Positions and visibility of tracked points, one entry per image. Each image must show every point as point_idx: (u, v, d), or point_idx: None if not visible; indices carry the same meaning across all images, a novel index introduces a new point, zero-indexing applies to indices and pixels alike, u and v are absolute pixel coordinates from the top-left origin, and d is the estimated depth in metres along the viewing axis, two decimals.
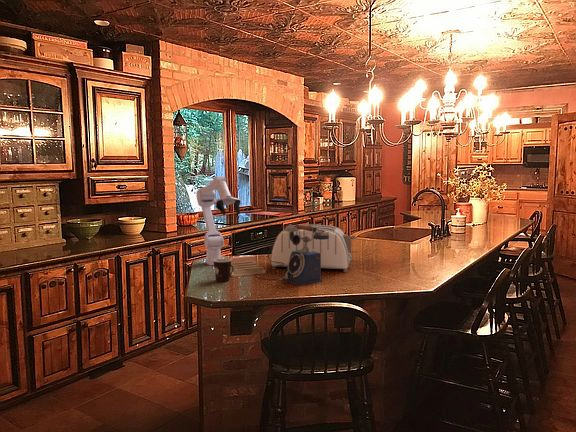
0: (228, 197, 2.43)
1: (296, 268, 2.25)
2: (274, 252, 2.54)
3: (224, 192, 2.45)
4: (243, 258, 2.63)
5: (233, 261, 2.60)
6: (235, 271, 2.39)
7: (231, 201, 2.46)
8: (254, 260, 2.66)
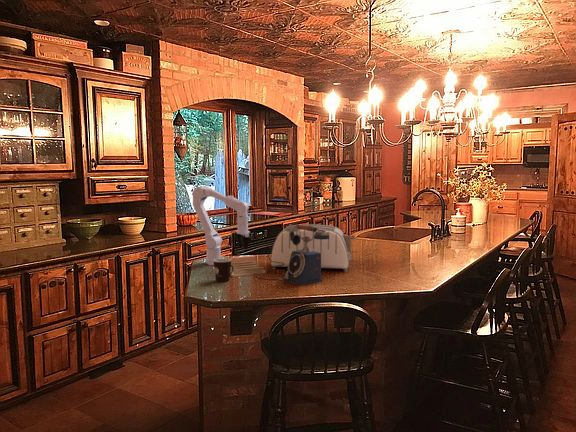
0: (247, 232, 2.63)
1: (296, 268, 2.25)
2: (274, 252, 2.53)
3: (247, 226, 2.62)
4: (243, 258, 2.63)
5: (233, 261, 2.60)
6: (235, 271, 2.39)
7: None
8: (254, 260, 2.66)
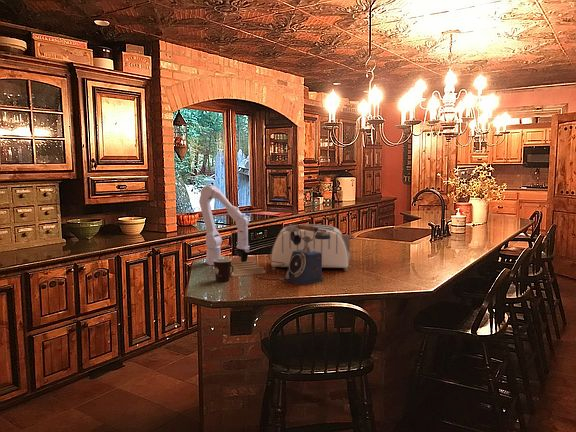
0: None
1: (297, 268, 2.26)
2: (274, 253, 2.52)
3: (247, 240, 2.63)
4: None
5: (233, 261, 2.60)
6: (235, 271, 2.39)
7: None
8: (254, 260, 2.66)
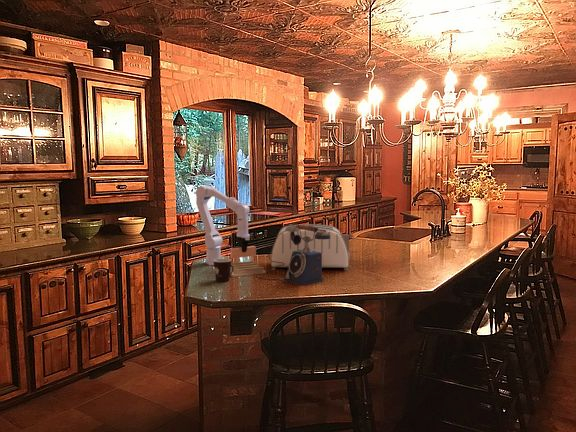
0: None
1: (297, 268, 2.26)
2: (275, 253, 2.51)
3: None
4: None
5: (233, 252, 2.56)
6: (235, 271, 2.39)
7: None
8: (254, 251, 2.62)
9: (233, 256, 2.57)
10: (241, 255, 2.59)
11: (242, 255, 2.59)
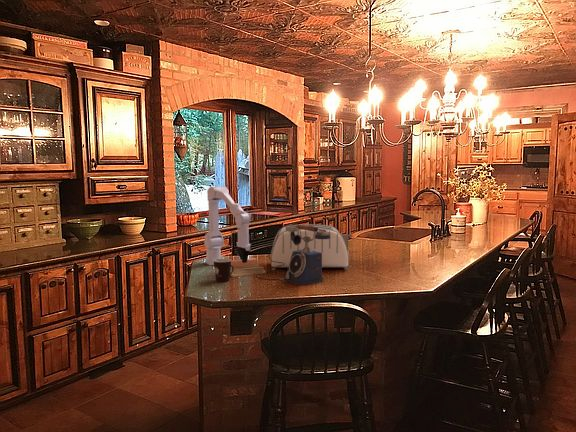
0: None
1: (297, 268, 2.25)
2: (275, 253, 2.51)
3: (248, 238, 2.48)
4: None
5: (233, 264, 2.45)
6: (235, 271, 2.39)
7: None
8: (255, 263, 2.51)
9: None
10: None
11: None
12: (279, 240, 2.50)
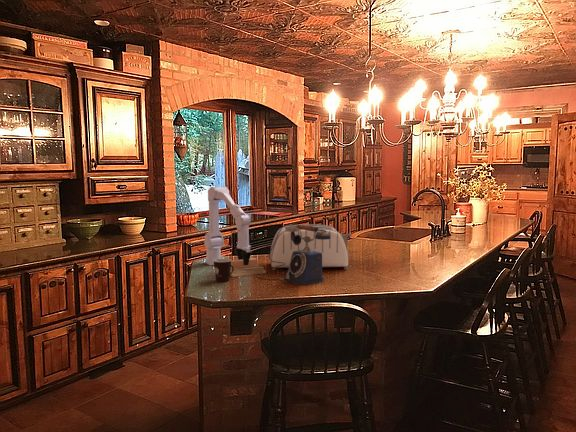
0: None
1: (298, 268, 2.25)
2: (275, 254, 2.50)
3: (248, 240, 2.48)
4: None
5: (233, 264, 2.45)
6: (235, 271, 2.39)
7: None
8: (255, 263, 2.51)
9: None
10: None
11: None
12: (279, 240, 2.49)
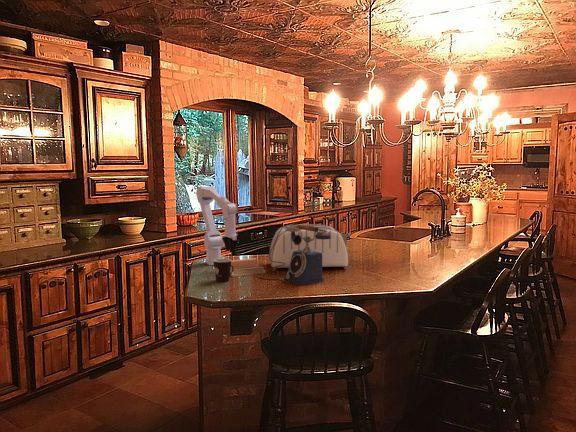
0: None
1: (298, 268, 2.25)
2: (276, 254, 2.49)
3: None
4: (244, 261, 2.48)
5: (233, 264, 2.45)
6: (235, 271, 2.39)
7: None
8: (255, 263, 2.51)
9: None
10: None
11: None
12: (280, 240, 2.49)
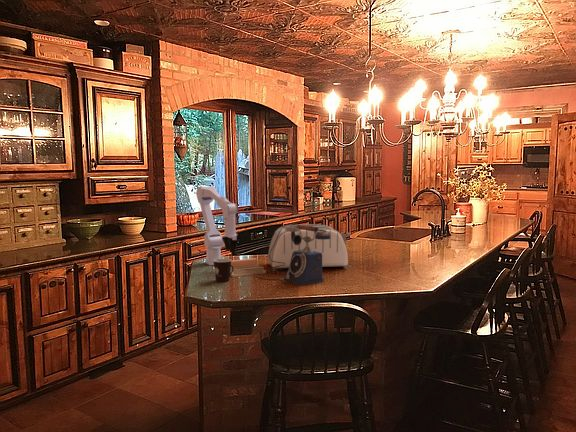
0: None
1: (298, 268, 2.25)
2: (276, 254, 2.49)
3: None
4: (244, 261, 2.48)
5: (233, 264, 2.45)
6: (235, 271, 2.39)
7: None
8: (255, 263, 2.51)
9: None
10: None
11: None
12: (280, 241, 2.48)
